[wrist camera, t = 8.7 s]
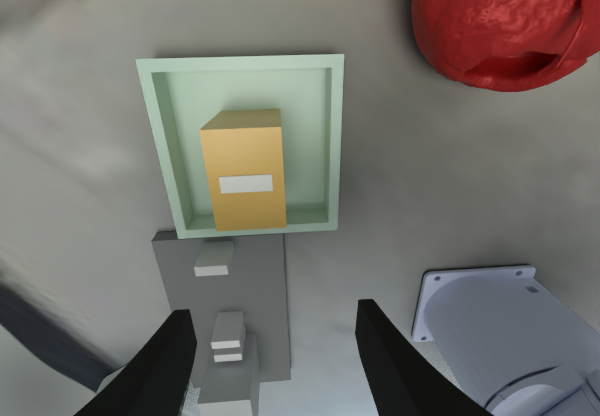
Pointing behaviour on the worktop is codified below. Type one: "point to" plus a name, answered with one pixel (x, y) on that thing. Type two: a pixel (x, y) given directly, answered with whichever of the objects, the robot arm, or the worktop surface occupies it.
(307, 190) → the tray
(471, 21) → the pomegranate
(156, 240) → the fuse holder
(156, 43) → the worktop surface
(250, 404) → the grey rectangular block
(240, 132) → the block
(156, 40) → the worktop surface
